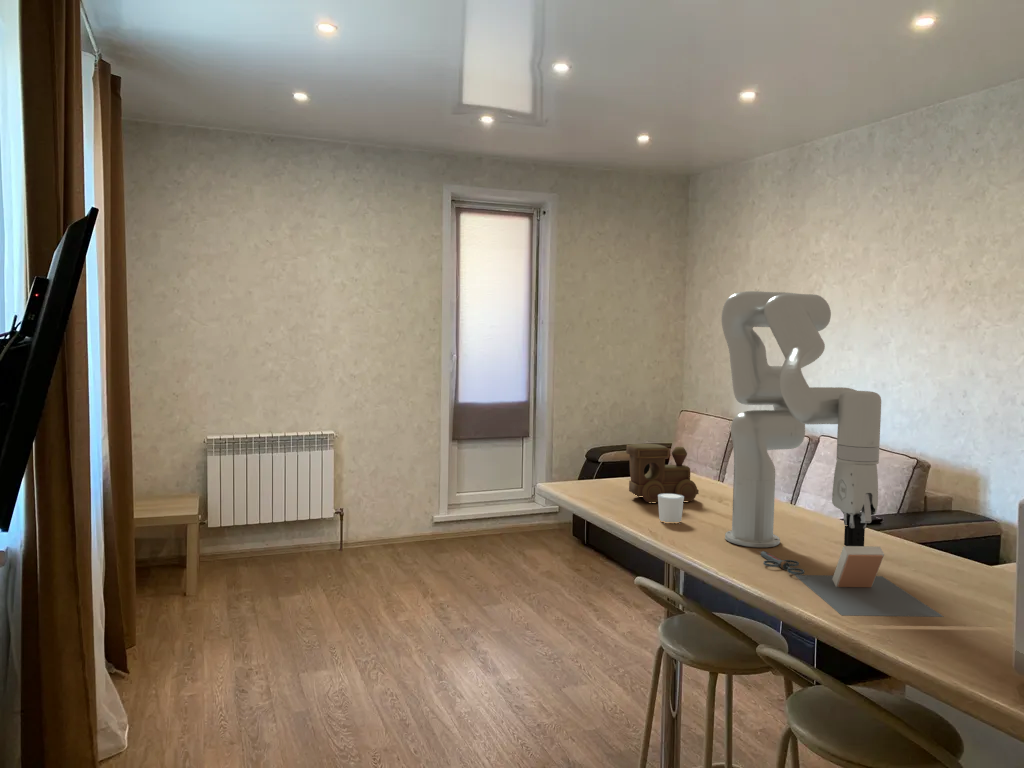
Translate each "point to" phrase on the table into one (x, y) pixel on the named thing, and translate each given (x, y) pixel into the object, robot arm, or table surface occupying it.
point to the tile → (858, 566)
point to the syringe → (781, 563)
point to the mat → (867, 598)
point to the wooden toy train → (659, 472)
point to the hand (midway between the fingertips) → (853, 546)
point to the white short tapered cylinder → (670, 507)
